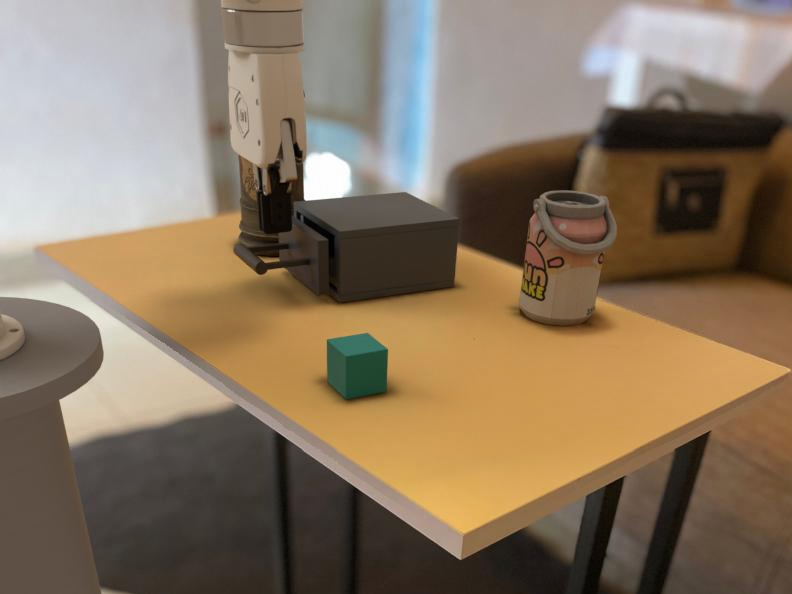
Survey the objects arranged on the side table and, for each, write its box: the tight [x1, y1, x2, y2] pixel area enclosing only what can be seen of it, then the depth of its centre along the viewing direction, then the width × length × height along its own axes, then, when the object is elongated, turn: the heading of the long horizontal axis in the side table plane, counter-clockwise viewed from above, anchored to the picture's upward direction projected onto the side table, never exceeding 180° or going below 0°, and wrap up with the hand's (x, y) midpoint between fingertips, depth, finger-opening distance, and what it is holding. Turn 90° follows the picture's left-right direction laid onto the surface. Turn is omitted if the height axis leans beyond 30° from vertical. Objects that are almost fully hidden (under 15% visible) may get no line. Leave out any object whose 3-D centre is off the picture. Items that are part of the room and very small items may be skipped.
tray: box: [233, 214, 337, 296], centre depth 94 cm, size 20×11×6 cm, turn 118°
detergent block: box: [326, 332, 389, 400], centre depth 73 cm, size 4×4×4 cm
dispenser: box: [293, 191, 461, 303], centre depth 96 cm, size 15×13×8 cm
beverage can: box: [518, 189, 618, 327], centre depth 87 cm, size 9×8×12 cm
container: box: [237, 89, 306, 257], centre depth 101 cm, size 9×9×18 cm
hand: (275, 230), depth 90 cm, fingers closed
